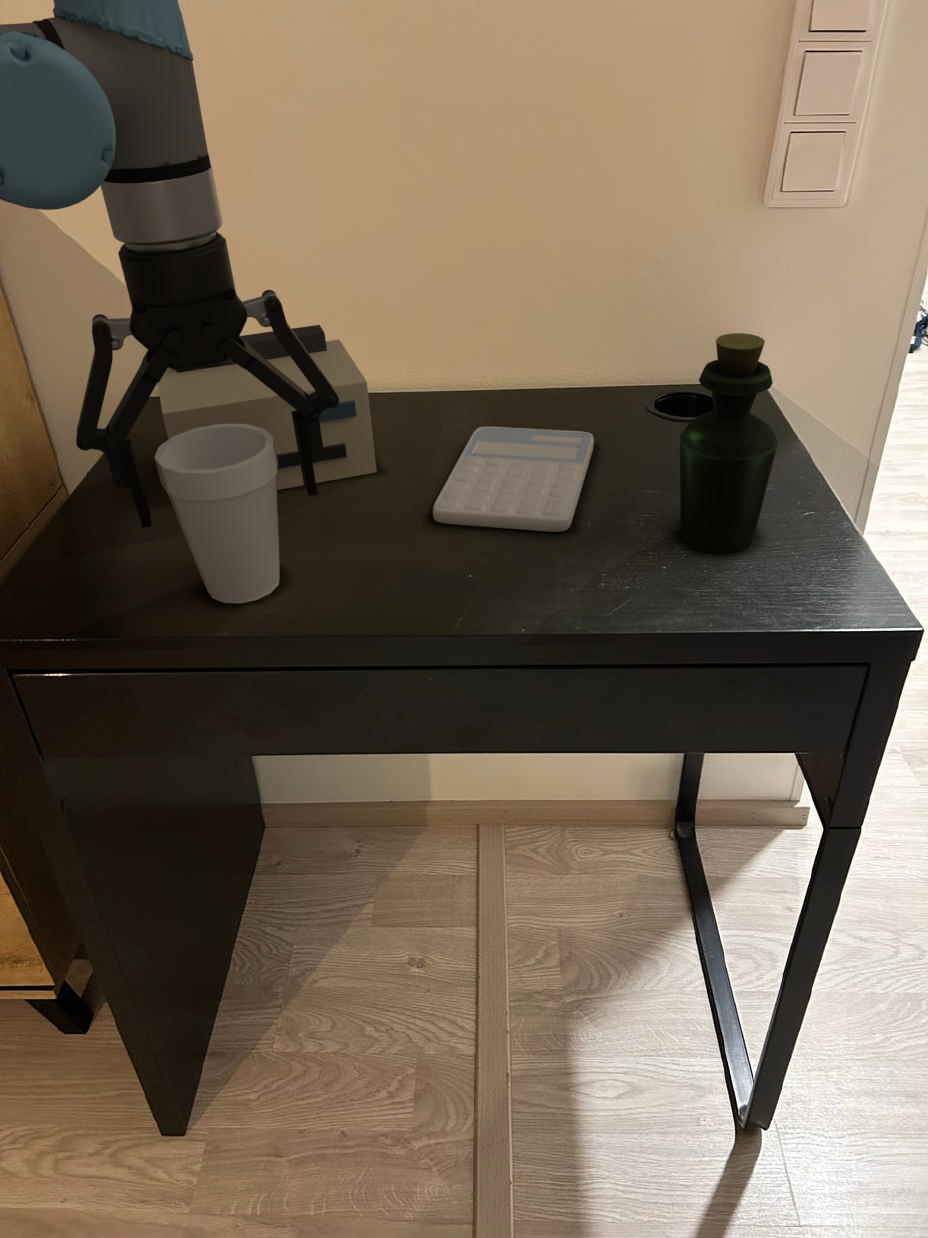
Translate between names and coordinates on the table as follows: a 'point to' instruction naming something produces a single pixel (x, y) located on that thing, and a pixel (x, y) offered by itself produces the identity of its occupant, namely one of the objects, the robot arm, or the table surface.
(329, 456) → the printer
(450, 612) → the table surface
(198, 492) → the foam cup
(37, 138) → the robot arm
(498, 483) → the calculator
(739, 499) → the potion bottle
